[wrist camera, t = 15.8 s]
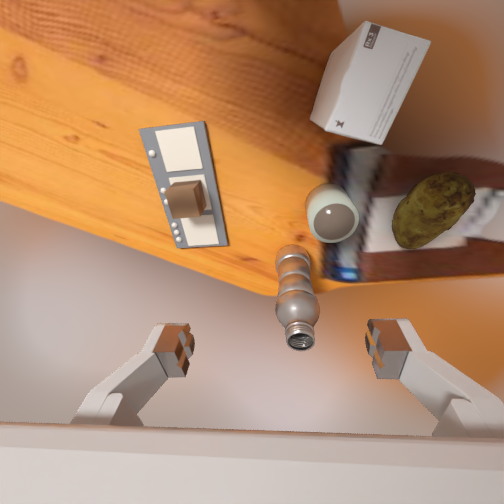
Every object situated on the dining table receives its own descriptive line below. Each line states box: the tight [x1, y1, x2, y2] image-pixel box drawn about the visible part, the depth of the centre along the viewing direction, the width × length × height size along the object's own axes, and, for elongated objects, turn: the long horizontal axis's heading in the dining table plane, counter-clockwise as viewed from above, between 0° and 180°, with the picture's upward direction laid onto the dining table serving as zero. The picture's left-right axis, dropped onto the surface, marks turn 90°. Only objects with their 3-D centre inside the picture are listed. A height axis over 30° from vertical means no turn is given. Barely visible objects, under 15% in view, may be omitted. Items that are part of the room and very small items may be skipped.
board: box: [139, 121, 228, 248], centre depth 43 cm, size 21×10×1 cm, turn 7°
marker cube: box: [165, 180, 207, 219], centre depth 41 cm, size 4×4×4 cm
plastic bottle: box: [275, 245, 320, 351], centre depth 40 cm, size 6×7×20 cm
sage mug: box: [305, 183, 359, 243], centre depth 40 cm, size 7×7×7 cm
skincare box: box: [310, 21, 431, 145], centre depth 28 cm, size 8×6×15 cm
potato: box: [392, 172, 476, 249], centre depth 38 cm, size 8×13×8 cm, turn 155°
